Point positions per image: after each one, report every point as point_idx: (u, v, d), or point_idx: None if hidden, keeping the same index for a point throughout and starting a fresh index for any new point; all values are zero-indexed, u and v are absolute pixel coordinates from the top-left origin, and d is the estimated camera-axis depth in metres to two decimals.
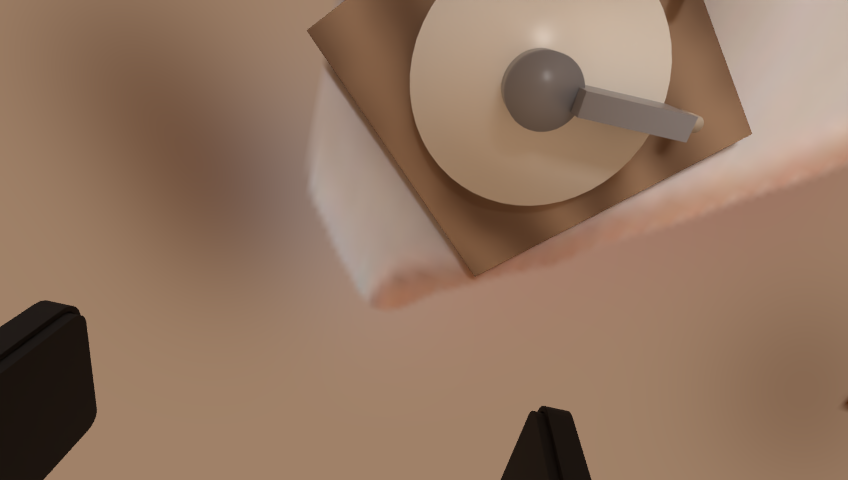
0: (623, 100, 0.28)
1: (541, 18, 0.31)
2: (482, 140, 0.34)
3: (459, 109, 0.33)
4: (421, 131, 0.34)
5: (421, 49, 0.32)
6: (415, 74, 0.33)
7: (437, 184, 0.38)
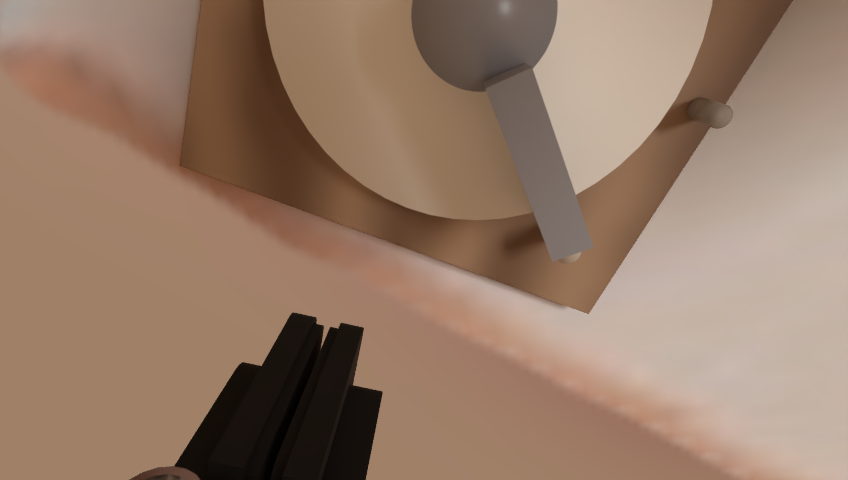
0: (553, 134, 0.16)
1: None
2: (351, 1, 0.19)
3: None
4: None
5: None
6: None
7: None
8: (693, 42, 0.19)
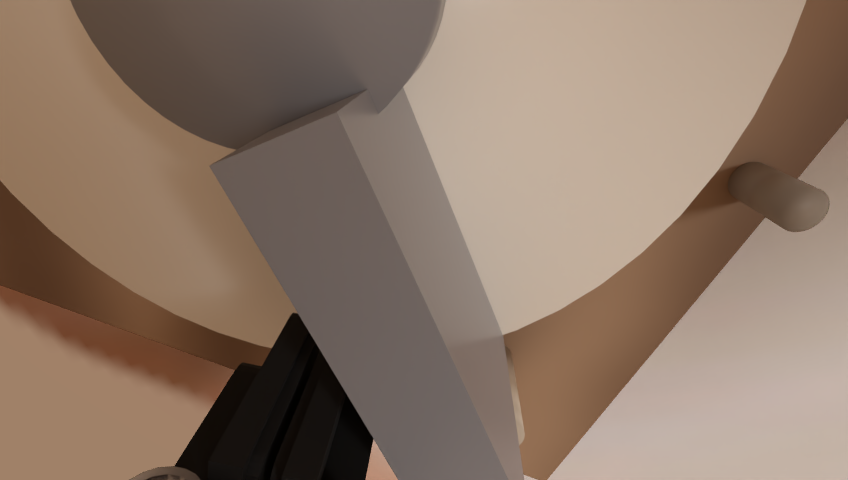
0: (417, 292, 0.06)
1: None
2: None
3: None
4: None
5: None
6: None
7: None
8: (765, 58, 0.09)
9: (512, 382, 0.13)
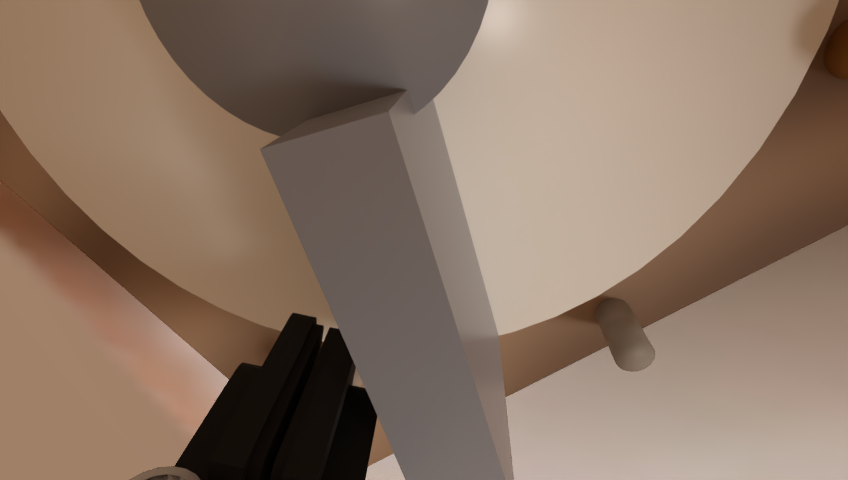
0: (440, 287, 0.06)
1: None
2: None
3: None
4: None
5: None
6: None
7: None
8: (775, 96, 0.09)
9: None
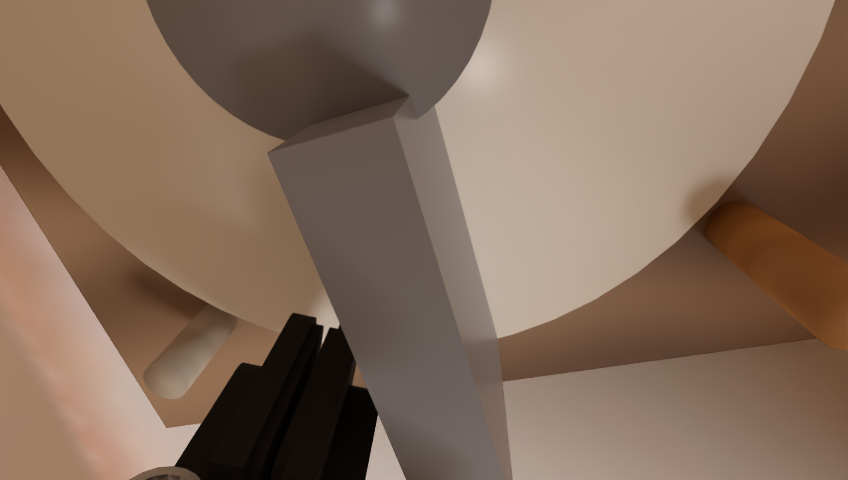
0: (442, 288, 0.06)
1: None
2: None
3: None
4: None
5: None
6: None
7: None
8: (769, 104, 0.09)
9: (213, 351, 0.14)
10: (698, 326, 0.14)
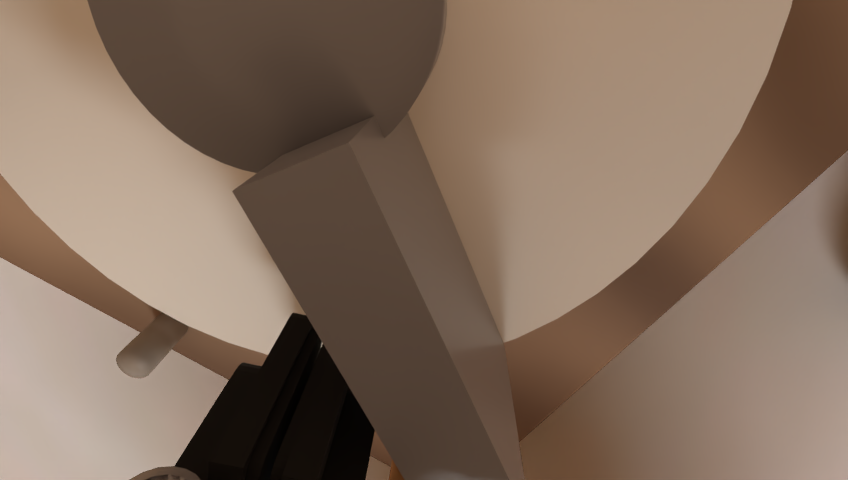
0: (423, 304, 0.06)
1: None
2: None
3: None
4: None
5: None
6: None
7: None
8: (748, 78, 0.09)
9: None
10: None
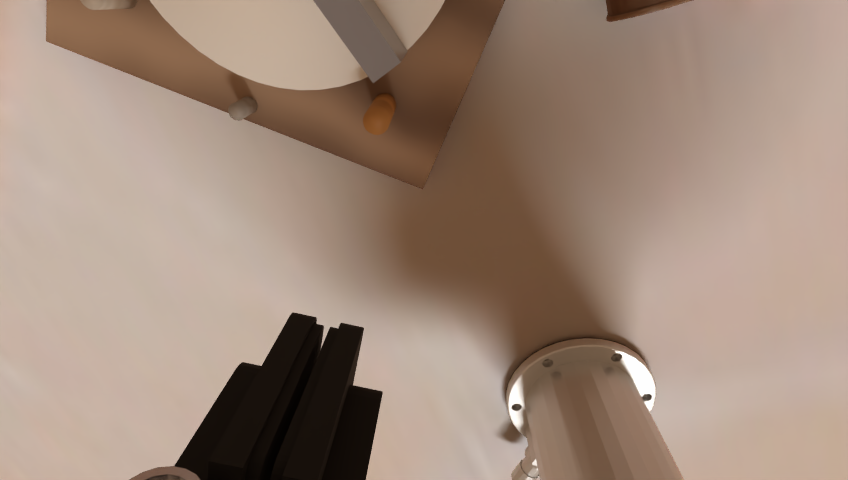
0: None
1: None
2: None
3: None
4: None
5: None
6: None
7: None
8: None
9: (118, 5, 0.25)
10: (354, 146, 0.30)
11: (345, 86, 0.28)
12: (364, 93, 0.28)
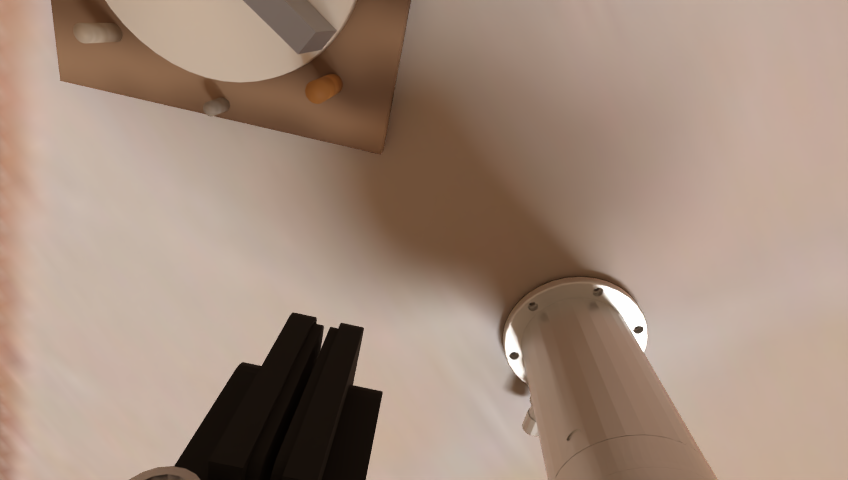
0: None
1: None
2: None
3: None
4: None
5: None
6: None
7: None
8: None
9: (107, 38, 0.31)
10: (315, 125, 0.34)
11: (297, 74, 0.33)
12: (314, 77, 0.33)
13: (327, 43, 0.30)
